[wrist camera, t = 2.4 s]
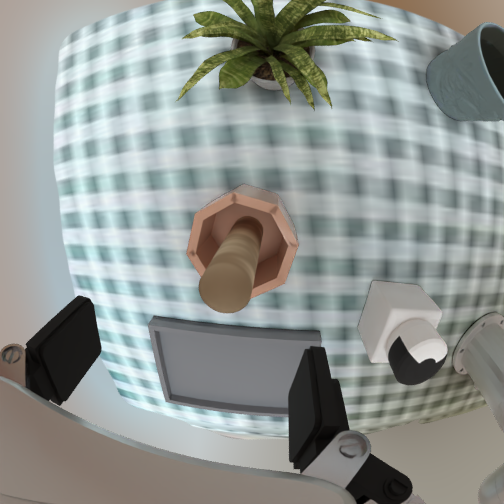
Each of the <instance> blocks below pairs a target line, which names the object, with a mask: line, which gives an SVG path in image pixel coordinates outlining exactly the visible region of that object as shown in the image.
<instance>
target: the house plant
mask: <svg viewBox="0 0 504 504" xmlns="http://www.w3.org/2000/svg"><path fill="white" fill-rule="evenodd" d="M223 1H225V2H226V3H227V4H228V5H230V6H231V7H232V8H233V9H234V11H235V12H236V13H237V14H238V16H239V17H240V18H241V19H242V20H243V21H244V23H245V24H243V23H241V22H237V21H235V20H233V19H231V18H229V17H227V16H225V15H222V14H220V13H217V12H214V11H206V12H200V13H197V14H194V15H193V16H194V18H195V20H196V22H197V23H199V24H200V25H203V26H205V27H202V28H199V29H196V30H194V31H192V32H191V33H189V34H188V35H186V36H185V37H183V38H195V37H199V36H203V37H231V38H233V41H232V45H231V50H229V51H225V52H222V53H219V54H216V55H214V56H212V57H210V58H209V59H207V60H205V61H204V62H203V63H202V64H201V65H200V66H199V68H198V69H197V70H196V72H195V73H194V75H193V76H192V77H191V78H190V79H189V81H188V82H187V83H186V84H185V86H184V87H183V89H182V91H181V94H180V96H179V98H178V100H179V99H180V98H181V97H182V96H183V95H184V94H185V93H186V92H187V91H188V90H189V89H191V88H192V87H193V86H194V85H195V84H196V83H197V82H198V81H199V80H200V79H201V78H202V77H204V76H205V75H206V74H207V73H209V72H210V71H211V70H213V69H214V68H215V67H217V66H218V65H220V64H222V63H224V62H225V61H227V60H228V61H227V62H226V63H225V65H224V66H223V67H222V68H221V69H220V72H219V89H221V88H238V87H241V86H243V85H244V84H246V83H247V82H248V81H249V80H250V79H251V80H252V81H254V82H255V83H256V84H257V85H259V86H260V87H262V88H265V89H267V90H281V89H282V90H283V93H284V95H285V97H286V98H287V99H288V100H289V102H290V105H291V99H290V94H289V89H288V87H289V86H290V85H292V84H293V83H294V82H295V83H296V85H297V87H298V88H299V90H300V91H301V92H302V93H303V94H304V95H305V97H306V99H307V101H308V103H309V105H310V106H311V107H312V108H313V109H314V110H315V108H314V102H313V97H312V93H311V89H310V86H309V84H308V82H309V83H310V84H311V85H312V86H314V87H315V88H317V90H318V92H319V93H320V95H321V96H322V98H323V99H324V100H325V101H327V102H328V104H329V105H330V106H331V108H332V104H331V100H330V97H329V94H328V91H327V83H328V82H327V79H326V76H325V74H324V73H323V71H322V70H321V69H320V68H319V67H318V66H316V65H315V63H314V62H313V60H314V56H315V47H314V46H331V45H339V44H343V43H345V42H349V41H354V40H353V39H358V40H362V41H371V40H369V39H367V38H365V37H369V38H375V39H380V40H396V39H394V38H392V37H390V36H387V35H385V34H382V33H380V32H377V31H374V30H370V29H366V28H361V27H356V26H344V25H322V26H312V27H309V28H306V29H304V28H303V27H306V26H310V25H313V24H318V23H346V22H351V21H350V20H349V19H348V18H347V17H346V16H345V15H344V14H343V13H341V12H339V11H336V10H324V11H319V12H315V13H312V14H308V13H309V12H310V11H311V10H313V9H314V8H316V7H317V6H330V7H336V8H341V9H345V10H349V11H353V12H357V13H360V14H364V15H368V16H372V17H376V16H373V15H371V14H368V13H365V12H362V11H359V10H357V9H355V8H352V7H349V6H345V5H340V4H335V3H325V2H324V1H326V0H291V1H290V2H289V3H288V4H287V5H286V6H285V7H284V8H283V9H282V10H281V11H280V12H279V14H278V15H277V16H276V17H275V15H274V10H273V0H251V2H252V4H253V6H254V12H255V17H254V15H253V14H252V12H251V11H250V9H249V8H248V7H247V6H246V5H245V4H244V3H243V1H242V0H223ZM306 14H308V15H306ZM305 15H306V16H305ZM376 18H379V17H376ZM380 19H381V18H380ZM183 38H182V39H183ZM182 39H181V40H182ZM396 41H397V40H396ZM371 42H372V41H371ZM398 42H399V41H398ZM373 43H374V42H373ZM306 79H307V80H306ZM307 81H308V82H307ZM178 100H177V101H178Z"/></svg>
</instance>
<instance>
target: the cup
mask: <svg viewBox="0 0 504 504" xmlns="http://www.w3.org/2000/svg"><path fill="white" fill-rule="evenodd" d="M244 216H252V217H254V218H256V219H258V220H259V221H260V223H261V224H262V227H263V236H262V242H261V247H260V252H259V258H258V263H257V268H256V273H255V278H254V284H253V289H252V294H251V298H253V297H256V296H258V295H260V294H263V293H265V292H267V291H269V290H272V289H274V288H276V287H278V286H280V285H283V284H285V281H286V278H287V275H288V273H289V270H290V267H291V265H292V262H293V259H294V257H295V254H296V251H297V248H298V246H299V243H298V239H297V235H296V230H295V226H294V224H293V222H292V220H291V218H290V216H289V214H288V212H287V210H286V209H285V207H284V205H283V203H282V201H281V199H280V197H279V195H278V194H276V193H273V192H269V191H266V190H263V189H259V188H256V187H253V186H249V185H246V184H242V185H241V186H239V187H237V188H235V189H233V190H232V191H230V192H228V193H226V194H224V195H223V196H221V197H219V198H217V199H216V200H213V201H212V202H211V203H209V204H208V205H206V206H205V207H204V208H202V209H201V210H199V211H198V212H197V213H195V217H194V221H193V226H192V230H191V235H190V239H189V244H188V249H187V253H186V254H187V256H188V257H189V259H190V260H191V262H192V264H193V265H194V267H195V268H196V270H197V271H198V273H199V275H200V276H201V277H202V275H203V274H204V272H205V270H206V269H207V267H208V265H209V264H210V262H211V260H212V259H213V257H214V256H215V254H216V252H217V251H218V249H219V248H220V246H221V244H222V243H223V241H224V240H225V238H226V236H227V235H228V233H229V232H230V230H231V228H232V227H233V225H234V224H235V222H236V221H237V220H238V219H239V218H241V217H244ZM251 298H250V299H251Z"/></svg>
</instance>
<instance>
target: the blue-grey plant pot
mask: <svg viewBox="0 0 504 504" xmlns="http://www.w3.org/2000/svg"><path fill="white" fill-rule="evenodd" d="M426 78H427V81H426V82H427V84H428V89H429V90H430V93H431V95H432V97H433V99H434V101H435V102H436V103H437V105H438V106H439V108H440V109H441V110H442V111H443V112H444V113H445V114H446V115H448V116H449V117H451V118H453V119H455V120H459V121H500V120H503V121H504V28H502V27H501V26H499V25H497V24H495V23H490V22H486V23H482V24H481V25H479V26H478V27H477V28H475V29H474V30H473V31H471V32H470V33H468V34H467V35H466V36H465V37H464V38H463V39H462V40H461V41H460V42H458V43H456V44H455V45H453V46H451V47H450V49H449V50H446V51H445V52H443V53H441V54H440V55H439V56H437V57H436V58H435V59H433V60H432V61H431V63H430V64H429V66H428V68H427V75H426Z"/></svg>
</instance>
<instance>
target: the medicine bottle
mask: <svg viewBox="0 0 504 504" xmlns="http://www.w3.org/2000/svg"><path fill="white" fill-rule="evenodd" d="M442 314H443V313H442V311H441V309H440V308H439V307H438V306H437V305H436V304H435V303H434V301H433V300H432V299H431V298H430V297H429V296H428V295H427V294H426V293H425V292H424V290H423V289H422V288H421V287H420V286H419V285H413V284H403V283H394V282H385V281H376V280H374V281H372V283H371V287H370V290H369V294H368V297H367V300H366V304H365V307H364V310H363V313H362V316H361V319H360V322H359V325H358V330H359V333H360V335H361V338H362V341H363V343H364V346H365V348H366V351H367V354H368V356H369V359H370V361H371V362H372V363H390V366H391V368H392V370H393V373H394V375H395V377H396V379H397V381H398V382H400V383H401V384H405V385H416V384H420V383H422V382H424V381H426V380H428V379H429V378H431V377H432V376H433V375H435V374H436V373H437V372H438V371H439V370H440V368H441V367H442V365H443V364H444V362H445V360H446V356H447V345H446V343H445V342H444V340H443V339H442V337H441V336H440V335H439V333H438V332H437V331H436V328H437V326H438V324H439V321H440V319H441V317H442Z"/></svg>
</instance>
